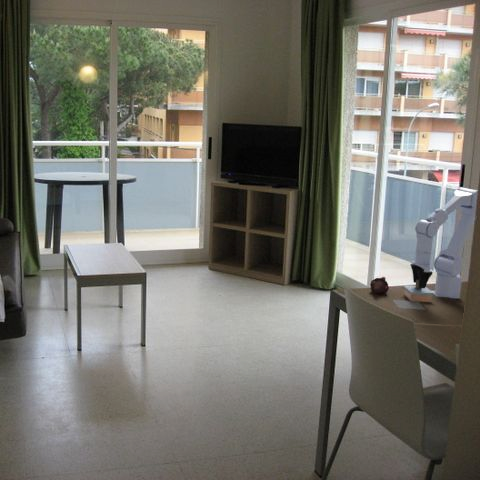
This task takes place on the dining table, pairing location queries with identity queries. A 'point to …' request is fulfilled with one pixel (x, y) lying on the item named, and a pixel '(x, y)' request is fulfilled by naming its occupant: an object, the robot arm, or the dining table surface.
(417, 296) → the orange open box
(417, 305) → the mat
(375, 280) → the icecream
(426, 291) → the lid
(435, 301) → the dining table surface
